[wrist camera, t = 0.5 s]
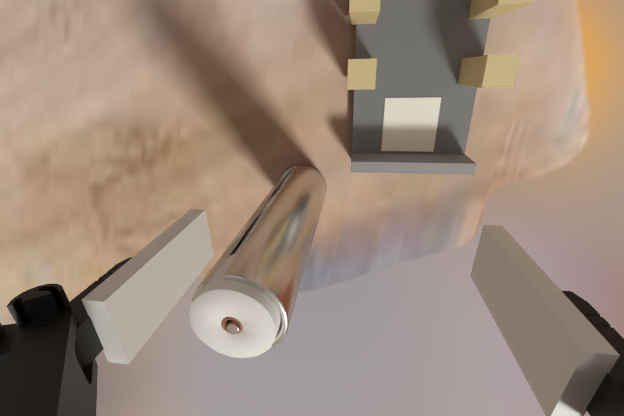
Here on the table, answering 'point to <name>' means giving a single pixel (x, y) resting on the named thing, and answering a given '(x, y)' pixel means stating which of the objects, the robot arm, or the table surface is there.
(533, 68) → the table surface
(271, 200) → the chrome rod
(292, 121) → the table surface
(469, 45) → the grey holder rack
